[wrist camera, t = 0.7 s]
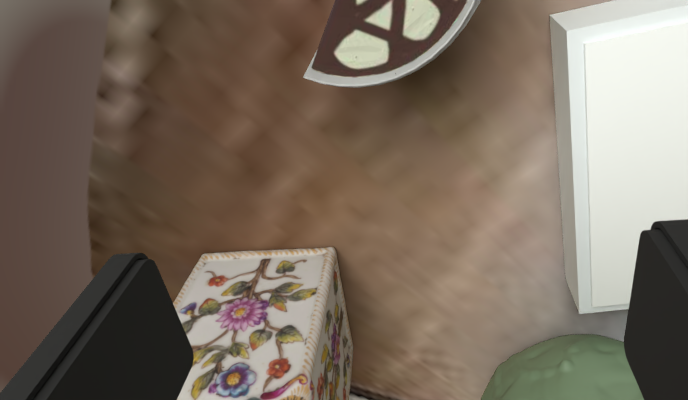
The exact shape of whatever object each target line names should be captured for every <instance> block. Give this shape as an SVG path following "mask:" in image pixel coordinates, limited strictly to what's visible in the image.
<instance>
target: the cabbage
mask: <svg viewBox="0 0 688 400" xmlns="http://www.w3.org/2000/svg"><path fill="white" fill-rule="evenodd" d="M481 400H644V398H643V396H642V393H641V391H640V389H639V386H638V384H637V382H636V379H635V377H634V375H633V373H632V370H631V368H630V366H629V363H628V361H627V358H626V354H625V349H624V342H621V341H618V340H615V339H612V338H608V337H604V336H600V335H593V334H581V335H565V336H559V337H556V338H553V339H550V340H546V341H543V342H541V343H538V344H536V345H533V346H531V347H529V348H527V349H525V350H524V351H522V352H520V353H517V354H514V355H512V356H511V357H510V358H509V359H508V360H507V361H505V362H503V363H502V364H500V365H499V366H498V367H497V369H496V371H495V373H494V375H493V376H492V378H491V380H490V382H489V384H488V386H487V387H486V389H485V391H484V393H483V395H482V397H481Z"/></svg>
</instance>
